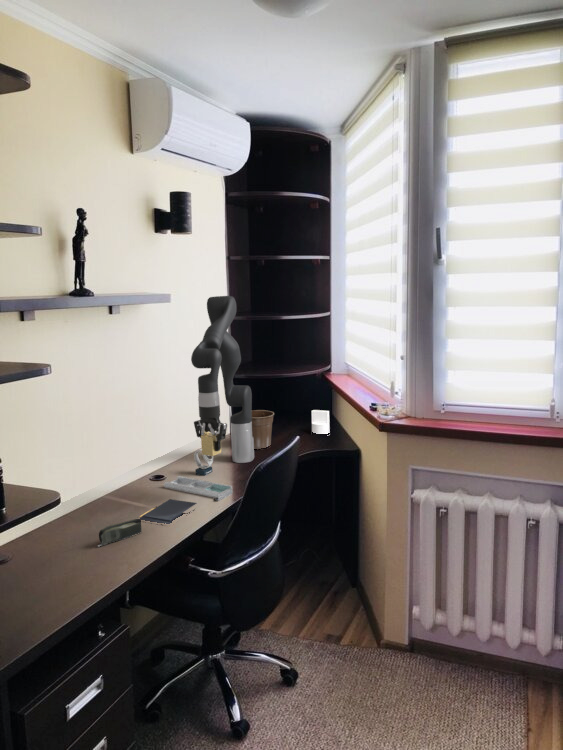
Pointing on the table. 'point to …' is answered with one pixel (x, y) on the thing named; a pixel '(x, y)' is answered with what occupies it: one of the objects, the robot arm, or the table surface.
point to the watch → (203, 469)
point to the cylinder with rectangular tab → (320, 422)
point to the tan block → (208, 445)
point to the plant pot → (262, 428)
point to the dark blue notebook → (167, 511)
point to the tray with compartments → (200, 487)
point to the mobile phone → (119, 531)
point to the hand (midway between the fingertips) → (211, 449)
